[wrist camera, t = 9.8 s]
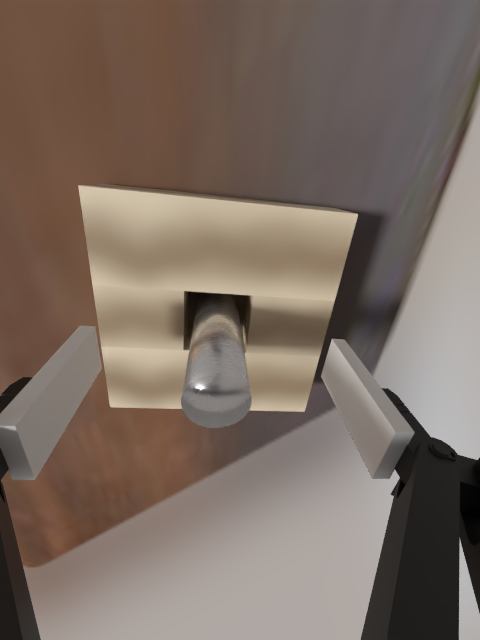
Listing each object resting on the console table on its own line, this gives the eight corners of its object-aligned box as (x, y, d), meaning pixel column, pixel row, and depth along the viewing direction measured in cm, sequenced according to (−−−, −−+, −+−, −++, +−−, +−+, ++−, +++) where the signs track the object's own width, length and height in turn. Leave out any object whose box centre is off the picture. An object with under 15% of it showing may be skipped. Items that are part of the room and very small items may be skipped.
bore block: (104, 183, 19) (78, 185, 15) (333, 207, 20) (358, 214, 17) (125, 375, 26) (110, 407, 22) (293, 381, 28) (304, 411, 24)
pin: (197, 284, 22) (181, 373, 12) (238, 287, 22) (255, 375, 12) (196, 321, 23) (180, 427, 13) (235, 323, 23) (247, 428, 14)
